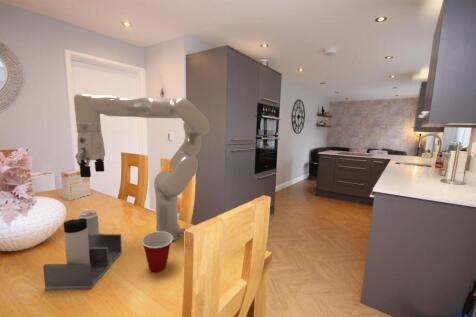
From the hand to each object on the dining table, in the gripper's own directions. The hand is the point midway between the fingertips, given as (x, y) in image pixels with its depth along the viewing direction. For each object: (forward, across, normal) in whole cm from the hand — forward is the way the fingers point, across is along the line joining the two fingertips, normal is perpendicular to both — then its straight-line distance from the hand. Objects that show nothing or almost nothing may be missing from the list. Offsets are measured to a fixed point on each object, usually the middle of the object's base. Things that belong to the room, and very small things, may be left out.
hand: (93, 174), depth 85 cm
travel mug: (+32, -14, 0) cm, 35 cm away
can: (+34, +16, +13) cm, 39 cm away
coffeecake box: (+34, +76, +53) cm, 99 cm away
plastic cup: (+34, -10, -25) cm, 43 cm away
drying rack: (+33, -9, 0) cm, 34 cm away
